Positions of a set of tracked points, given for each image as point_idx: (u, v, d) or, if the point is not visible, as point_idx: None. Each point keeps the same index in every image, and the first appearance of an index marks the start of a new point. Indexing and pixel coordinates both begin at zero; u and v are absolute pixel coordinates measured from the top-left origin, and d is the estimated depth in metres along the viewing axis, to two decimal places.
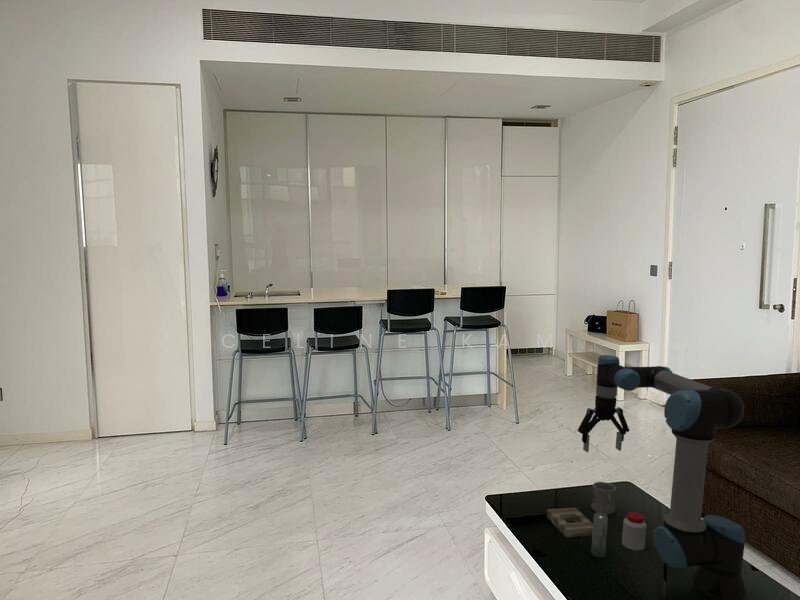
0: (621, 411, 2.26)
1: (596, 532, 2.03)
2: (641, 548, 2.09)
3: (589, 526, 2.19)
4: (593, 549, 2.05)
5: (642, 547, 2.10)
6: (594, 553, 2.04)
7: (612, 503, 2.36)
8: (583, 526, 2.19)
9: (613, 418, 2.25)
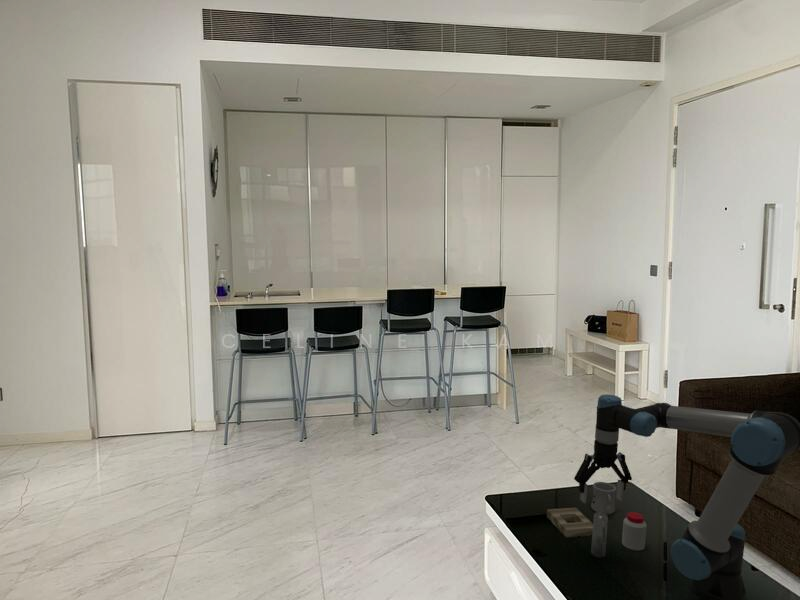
0: (623, 457, 2.02)
1: (596, 532, 2.03)
2: (641, 548, 2.09)
3: (589, 526, 2.19)
4: (593, 549, 2.05)
5: (642, 547, 2.10)
6: (594, 553, 2.04)
7: (612, 503, 2.36)
8: (583, 526, 2.19)
9: (614, 465, 2.01)
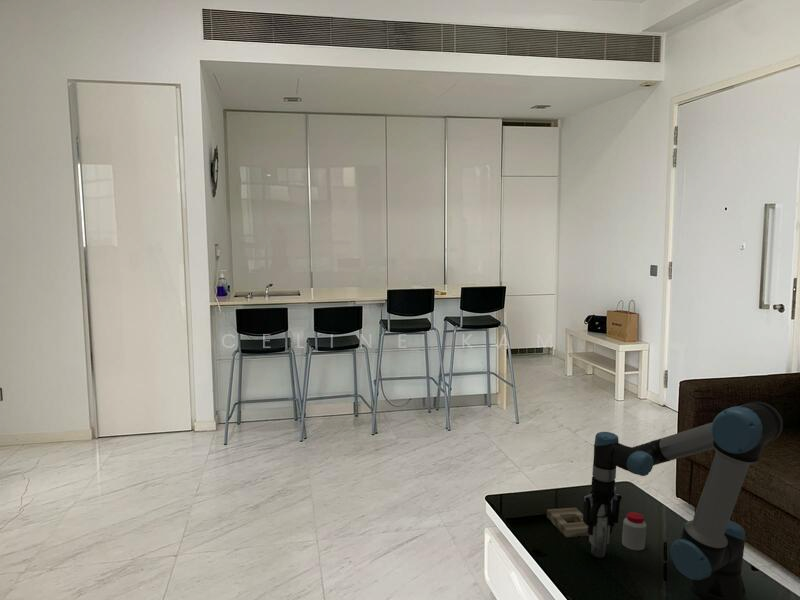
0: (619, 498, 2.04)
1: (596, 532, 2.03)
2: (641, 548, 2.09)
3: None
4: (593, 549, 2.05)
5: (642, 547, 2.10)
6: (594, 553, 2.04)
7: None
8: (583, 526, 2.19)
9: (609, 504, 2.03)
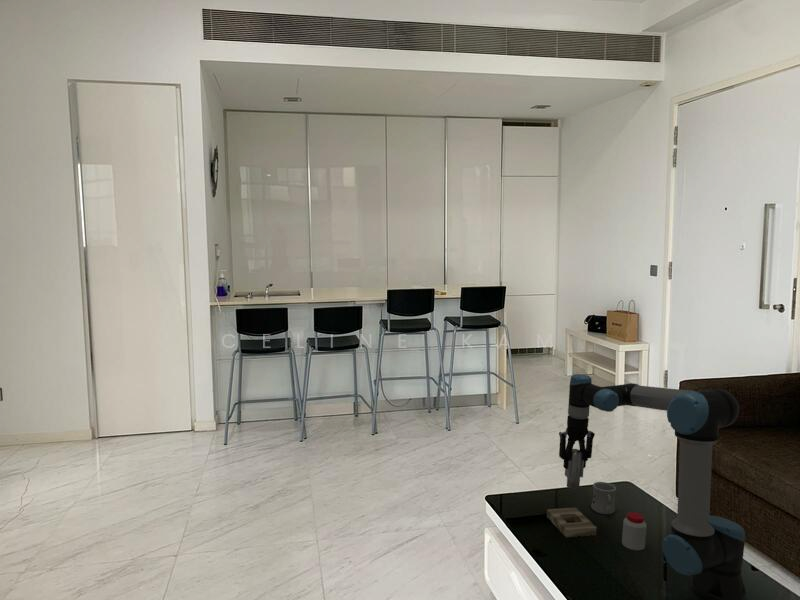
0: (592, 435, 2.21)
1: (571, 466, 2.21)
2: (641, 548, 2.09)
3: (589, 526, 2.19)
4: (568, 482, 2.23)
5: (642, 547, 2.10)
6: (569, 485, 2.22)
7: (612, 503, 2.36)
8: (583, 526, 2.19)
9: (582, 440, 2.20)
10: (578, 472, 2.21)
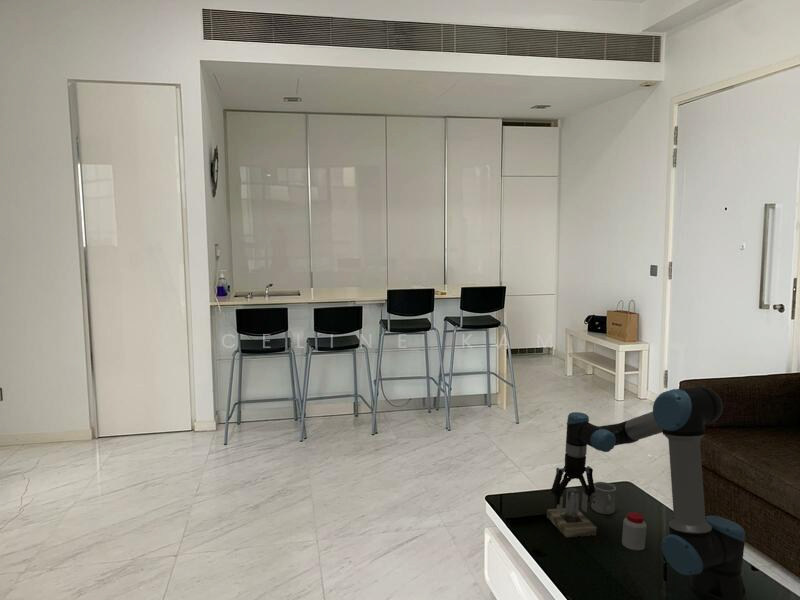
0: (591, 471, 2.23)
1: (568, 505, 2.23)
2: (641, 548, 2.09)
3: (589, 526, 2.19)
4: (566, 521, 2.24)
5: (642, 547, 2.10)
6: None
7: (612, 503, 2.36)
8: (583, 526, 2.19)
9: (582, 477, 2.22)
10: (576, 511, 2.23)
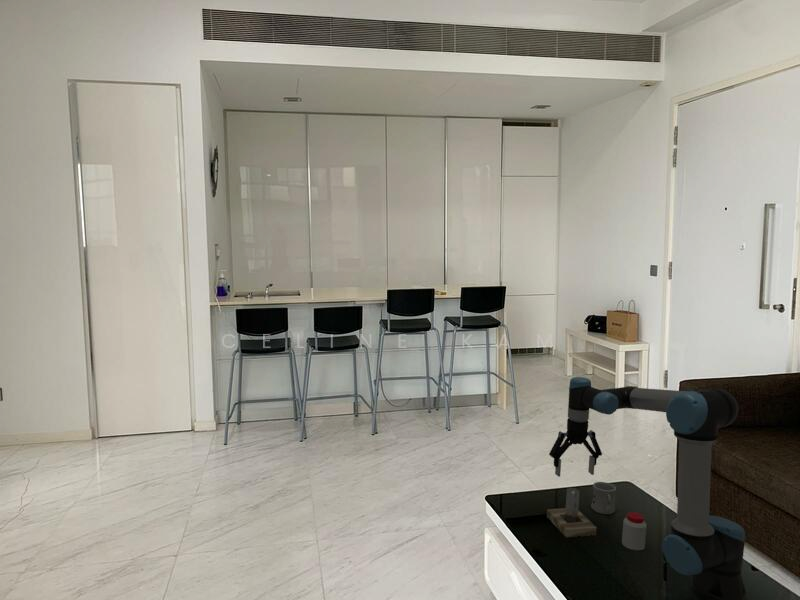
0: (593, 434, 2.21)
1: (568, 505, 2.23)
2: (641, 548, 2.09)
3: (589, 526, 2.19)
4: (566, 521, 2.24)
5: (642, 547, 2.10)
6: None
7: (612, 503, 2.36)
8: (583, 526, 2.19)
9: (585, 442, 2.21)
10: (576, 512, 2.23)
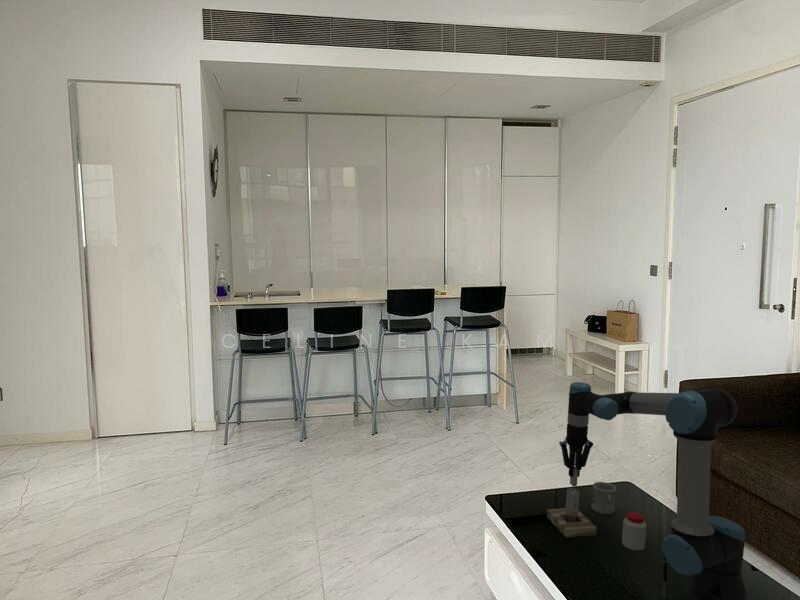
0: (591, 444, 2.22)
1: (568, 505, 2.23)
2: (641, 548, 2.09)
3: (589, 526, 2.19)
4: (566, 521, 2.24)
5: (642, 547, 2.10)
6: None
7: (612, 503, 2.36)
8: (583, 526, 2.19)
9: (581, 448, 2.21)
10: (576, 512, 2.23)
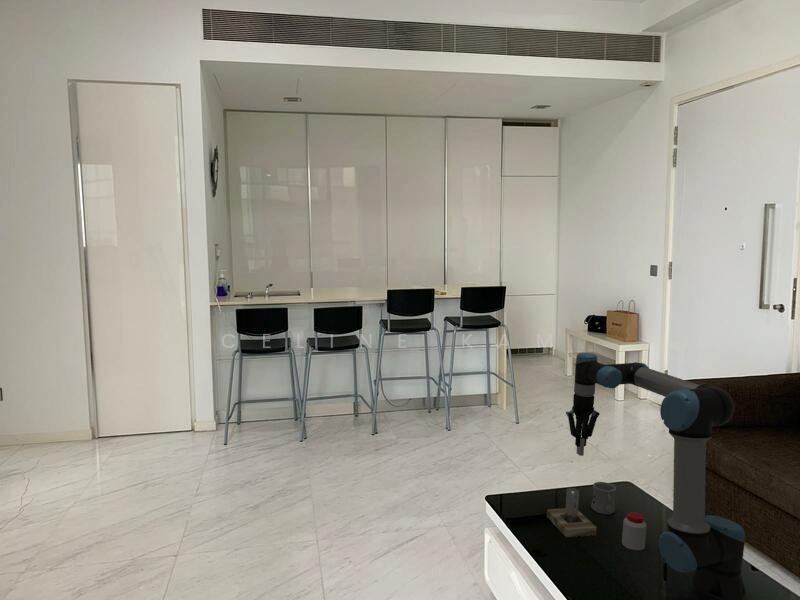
0: (597, 414, 2.25)
1: (568, 505, 2.23)
2: (641, 548, 2.09)
3: (589, 526, 2.19)
4: (566, 521, 2.24)
5: (642, 547, 2.10)
6: None
7: (612, 503, 2.36)
8: (583, 526, 2.19)
9: (587, 418, 2.24)
10: (576, 511, 2.23)
